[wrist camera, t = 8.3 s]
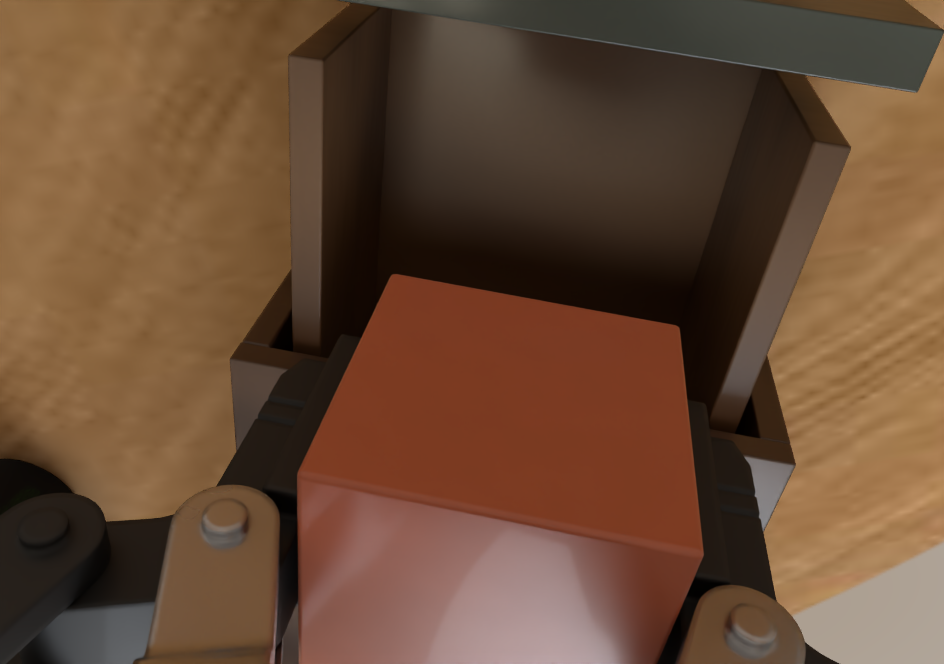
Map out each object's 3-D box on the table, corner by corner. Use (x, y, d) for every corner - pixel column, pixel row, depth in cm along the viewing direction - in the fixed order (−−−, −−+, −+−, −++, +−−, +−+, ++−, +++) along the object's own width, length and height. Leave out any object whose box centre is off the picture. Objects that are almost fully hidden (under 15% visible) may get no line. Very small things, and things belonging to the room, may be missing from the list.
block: (391, 271, 12) (293, 473, 9) (681, 323, 12) (707, 555, 8) (376, 477, 15) (296, 701, 11) (616, 525, 14) (614, 769, 11)
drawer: (359, -311, 20) (235, -356, 13) (915, -234, 19) (1066, -244, 13) (341, 339, 31) (269, 482, 25) (689, 403, 30) (708, 568, 24)
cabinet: (335, 201, 29) (228, 358, 21) (746, 272, 28) (797, 464, 20) (328, 518, 38) (254, 708, 30) (635, 578, 37) (639, 789, 30)
